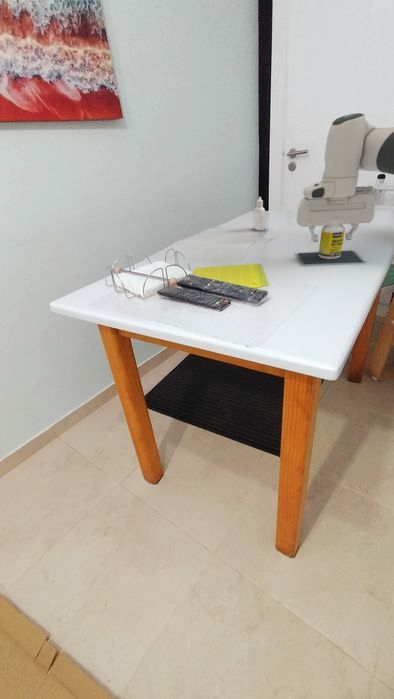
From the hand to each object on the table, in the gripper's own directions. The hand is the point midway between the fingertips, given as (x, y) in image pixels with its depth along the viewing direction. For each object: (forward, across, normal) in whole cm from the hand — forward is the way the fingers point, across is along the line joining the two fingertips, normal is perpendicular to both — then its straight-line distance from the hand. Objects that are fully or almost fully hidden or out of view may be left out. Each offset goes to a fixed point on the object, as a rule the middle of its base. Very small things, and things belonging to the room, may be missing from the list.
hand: (331, 240), depth 97 cm
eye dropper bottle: (+5, +18, -39) cm, 43 cm away
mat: (+5, 0, 0) cm, 5 cm away
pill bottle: (+5, 0, 0) cm, 5 cm away
